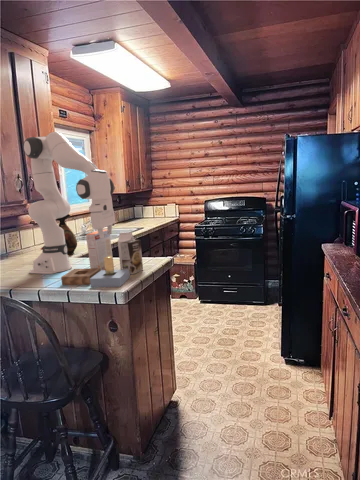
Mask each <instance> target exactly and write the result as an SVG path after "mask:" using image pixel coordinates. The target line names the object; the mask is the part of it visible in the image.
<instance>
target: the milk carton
mask: <svg viewBox="0 0 360 480" xmlns="http://www.w3.org/2000/svg"><path fill="white" fill-rule="evenodd" d="M118 234H119V236H118V240H117V245H118V246H117V247H118V258H119V266H120V267H119V268H120V270H123V267H122V256H121V245H120V243H121V242H125V241H128V240H136V239H135V237H134V235H133V232H119V233H118Z"/></svg>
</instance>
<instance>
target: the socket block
mask: <svg viewBox="0 0 360 480" xmlns="http://www.w3.org/2000/svg"><path fill="white" fill-rule="evenodd" d="M114 274H115V275H111V276H106V272H105V270H101V271H100V272H98V273H97V274H96V275H94V276H93V277H92V278H90V283H91V284H90V288H113V287H117V288H118V287H119V288H120V287H122V286H123V285H124V284H125V283H126V282H127V280H128V279H130V277H131V276H130V274H129V269H126V270H123V269H114Z"/></svg>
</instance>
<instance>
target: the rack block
mask: <svg viewBox="0 0 360 480" xmlns="http://www.w3.org/2000/svg"><path fill="white" fill-rule="evenodd" d="M100 271H101V268H89V267H88V268H74V269H72V270H70V271H69V272H67V273H65V274H63V275H62V276H61V277H60V278H61V280H60V281H61V286H85V285H89V286H91V283H90V278H92V277H93V276H94V275H96V274H97V273H98V272H100Z"/></svg>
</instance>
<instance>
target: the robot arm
mask: <svg viewBox="0 0 360 480" xmlns="http://www.w3.org/2000/svg"><path fill="white" fill-rule="evenodd" d="M23 150H24V154H25V155H26V156H27V157H28V158H30V166H31V167H30V168H31V169H30V170H31V175H32V180H33V185H34V189H35V191H36V192H37V193H40V195H41V196H42V198H43V200H38V201H35V202H32V203H31V204H30V205H29V207H28V216H29V218H30V219H31V220H32V221H34V222H35V223H36V224H37V225H38V226H39V229H40V231H41V234H42V238H43V244H44V245H43V246H41V247H40V248H39V249H40V251H41V253H40V254H39V255H38V256H37V257H36V258H35V259H34V261H33V263H32V268H31V269H30V270H29V271H28V272H29V274H42V275H44V274H45V275H52V274H55V273H60V272H65V271H68V270H70V269H72V265H71V263H70V260H69V255H67V245H66V243H65V236H64V230H63V229H62V228H61V227H59V223H57V219H58V218H62V217H64V216H66V215H68V214H69V215H70V212H71V205H70V202H69V201H68V200H67V199H65V198H64V197H63V195H62V194H61V192H60V189H59V187H58V185H57V180H56V175H55V169H54V166H53V161H54V162H55V163H56V164H57V165H58V166H60V167H61V168H64V169H70V170H76V171H79V172H82V173H84V174H85V175H86V176H85V177H82V178H81V179H79V180H78V181H77V183H76V185H75V189H76V193H77V195H78V197H79V198H80V199H81V200H91V202H92V203H91V204H90V205H89V207H88V212H89V213H90V220H91V221H90V222H91V227H92V229H93V230H97V231H98V233H99V235H100V238H104V237H105V236H104V233H103V229H104V228H106V227H107V229H106V230H107V234H108V235H110V236H111V235H112V234H113V231H112V229H113V225H114V224H115V223H116V215H115V211H114V208H113V207H114V206H113V200H112V198H113V197H112V195H113V194H114V192H115V183H114V182H113V180H112V179H111V178H110V177H109V174H108V171H106V170H104V169H99V168H98V167H97V165H96V164H94V162H92V161H91V160H90V159H89V158H88V157H87V156H85V155H84V154H82V153H81V152H80V151H78V150H77V149H76V148H75V147H74V145H72V143H71V142H70V141H69V139H67V138H66V137H65V135H63V134H62V133H61V132H58V131H52V132H50V133H48V134H47V135H45V136H31V137H27V138H26V139H25V140H24V142H23Z"/></svg>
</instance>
